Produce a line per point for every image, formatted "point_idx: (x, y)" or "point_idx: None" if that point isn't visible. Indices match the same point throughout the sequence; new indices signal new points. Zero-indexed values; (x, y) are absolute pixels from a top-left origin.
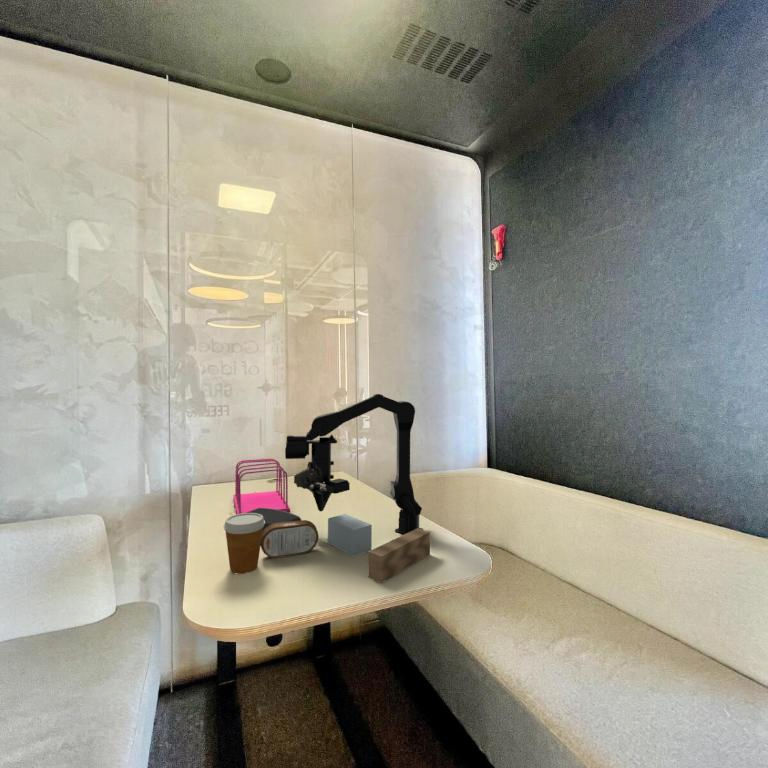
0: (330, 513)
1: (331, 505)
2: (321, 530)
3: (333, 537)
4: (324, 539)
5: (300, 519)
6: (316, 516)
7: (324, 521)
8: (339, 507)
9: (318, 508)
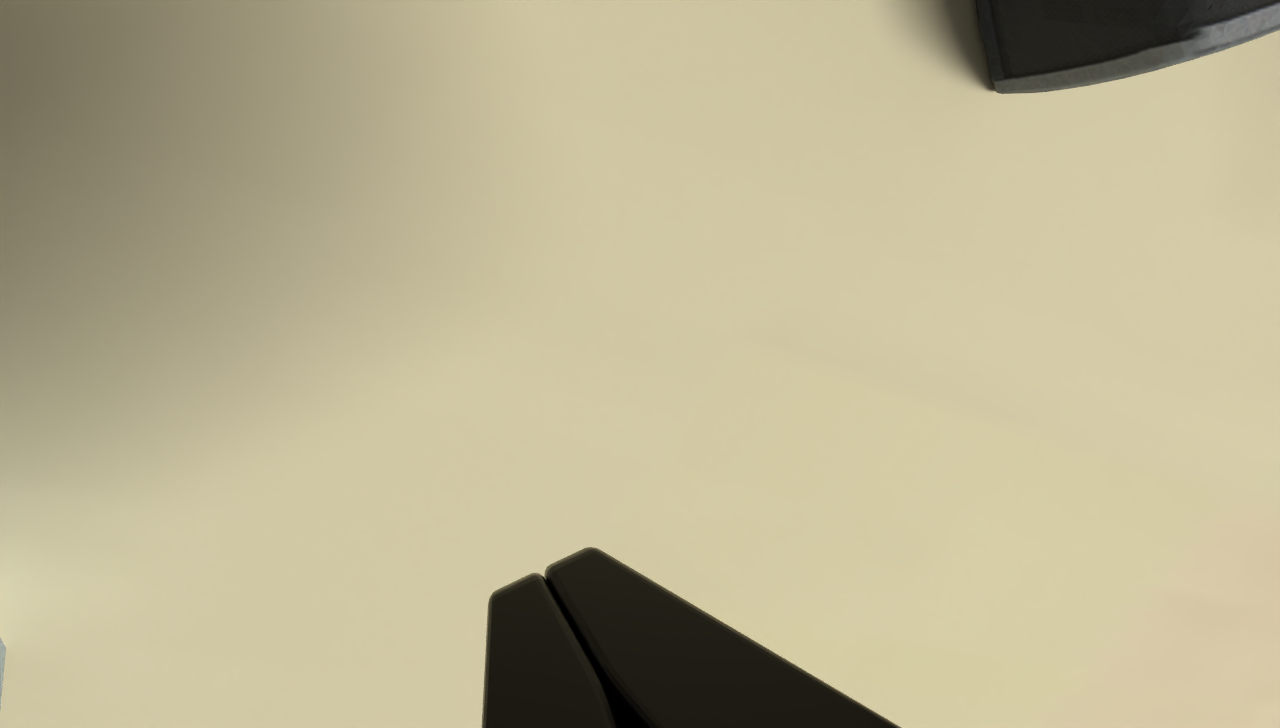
0: (1100, 604)
1: (1271, 653)
2: (612, 330)
3: None
4: (57, 238)
5: (1125, 60)
6: (1159, 416)
7: (930, 475)
8: (1161, 723)
9: (608, 604)
